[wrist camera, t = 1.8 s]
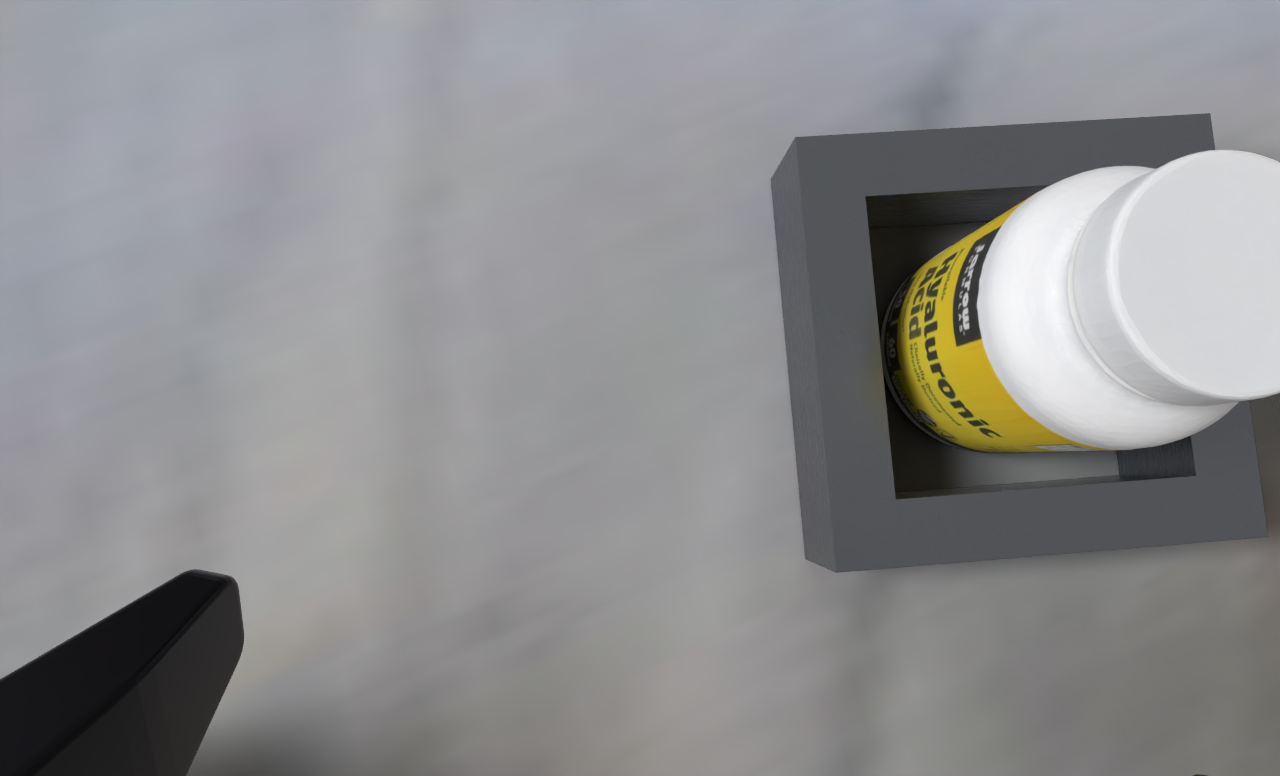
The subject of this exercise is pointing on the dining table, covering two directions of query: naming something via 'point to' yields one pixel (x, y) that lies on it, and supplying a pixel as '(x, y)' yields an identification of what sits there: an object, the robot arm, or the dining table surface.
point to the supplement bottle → (1098, 311)
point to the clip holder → (853, 375)
